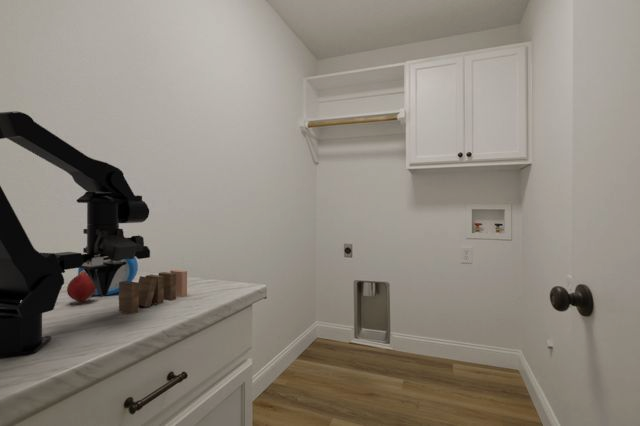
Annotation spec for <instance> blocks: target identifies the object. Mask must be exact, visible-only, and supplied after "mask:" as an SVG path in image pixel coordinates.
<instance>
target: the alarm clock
mask: <svg viewBox="0 0 640 426" xmlns="http://www.w3.org/2000/svg"><path fill="white" fill-rule="evenodd" d="M85 248H87V245H86V246H85ZM99 255H100V254H99ZM123 262H127V264H126V265H123V266H121V267H120V268H119V269H118V270H117V272H116V274H115V276H114V278H113V280H112V282H111V285H110V287H109V290H108V292H107V295H106V296H109V295H115V294H116V293H119V282H122V281H131V282H134V281H133V280H134V279H135V278H136V276H137V273H138V268H139V267H138V261H137V258H136V257H134V259H123ZM81 271H85V270H84V269H83V268H77V275H78V274H79V273H80V272H81ZM86 275H88V274H87V273H86ZM95 295H99V293H98V291H97V289H96V290H95V292H94V294H93V295H92V296H91V297H94V296H95ZM99 296H100V295H99Z"/></svg>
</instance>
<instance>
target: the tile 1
mask: <svg viewBox="0 0 640 426" xmlns="http://www.w3.org/2000/svg"><path fill="white" fill-rule="evenodd" d="M139 306H140V305H139V283H138V282H136V281H132V282H131V281H122V282H119V292H118V312H121V313H126V314H129V315H130V314H131V315H134V314H135V313H138V312H139Z"/></svg>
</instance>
